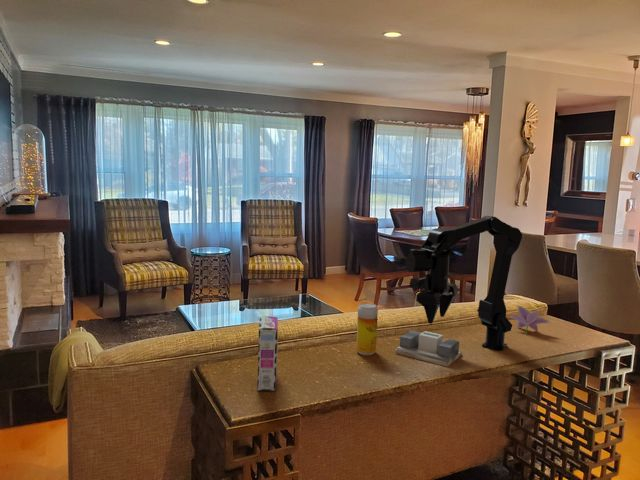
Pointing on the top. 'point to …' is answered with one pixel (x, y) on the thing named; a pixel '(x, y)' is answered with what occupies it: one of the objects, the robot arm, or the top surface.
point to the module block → (429, 342)
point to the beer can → (367, 329)
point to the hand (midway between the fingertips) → (436, 319)
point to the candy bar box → (267, 353)
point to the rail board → (445, 355)
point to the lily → (528, 319)
